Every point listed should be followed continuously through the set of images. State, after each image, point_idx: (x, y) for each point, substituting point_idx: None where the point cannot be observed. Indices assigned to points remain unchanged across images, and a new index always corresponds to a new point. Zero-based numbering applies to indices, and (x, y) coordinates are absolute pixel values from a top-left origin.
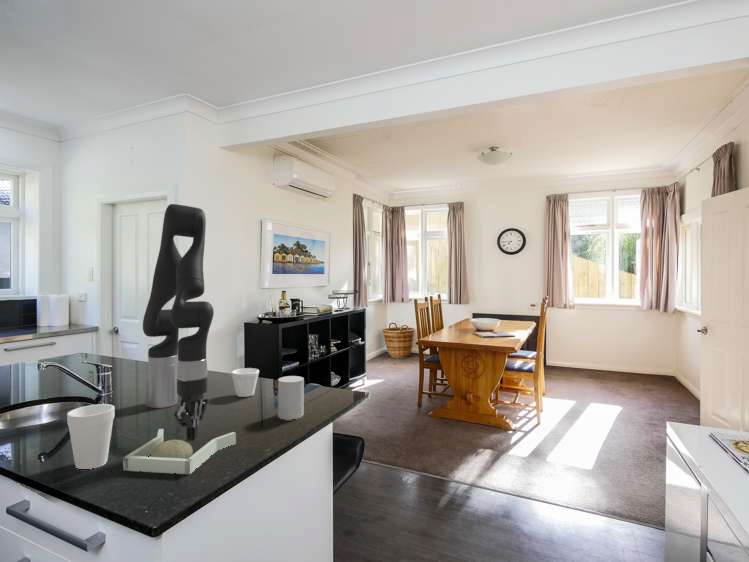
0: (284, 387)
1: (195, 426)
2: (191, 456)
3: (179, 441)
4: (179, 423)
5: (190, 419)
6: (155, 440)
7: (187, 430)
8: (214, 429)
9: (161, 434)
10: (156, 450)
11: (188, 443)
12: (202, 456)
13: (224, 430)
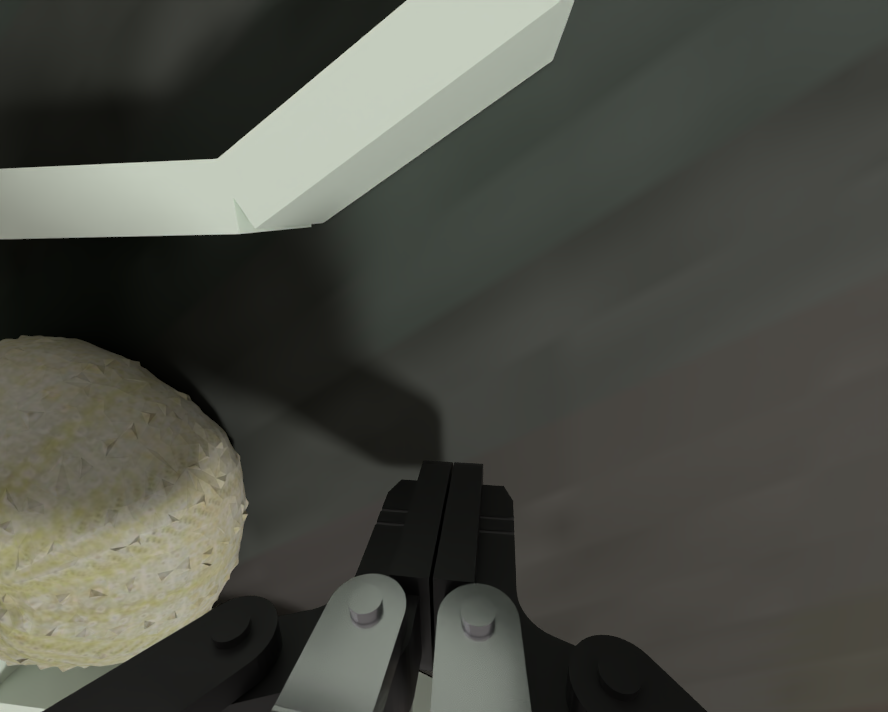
0: None
1: (423, 668)
2: (18, 709)
3: (15, 646)
4: (97, 680)
5: (445, 702)
6: (114, 231)
7: (364, 564)
8: (880, 509)
9: (314, 166)
10: None
11: (133, 653)
12: None
13: (828, 604)
